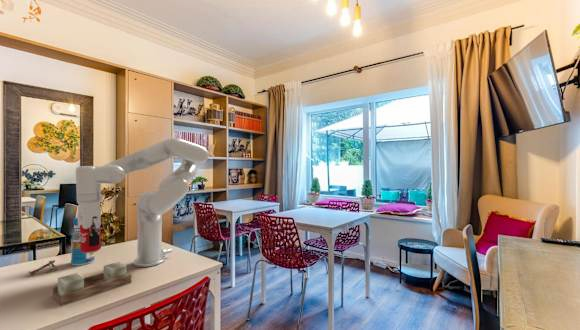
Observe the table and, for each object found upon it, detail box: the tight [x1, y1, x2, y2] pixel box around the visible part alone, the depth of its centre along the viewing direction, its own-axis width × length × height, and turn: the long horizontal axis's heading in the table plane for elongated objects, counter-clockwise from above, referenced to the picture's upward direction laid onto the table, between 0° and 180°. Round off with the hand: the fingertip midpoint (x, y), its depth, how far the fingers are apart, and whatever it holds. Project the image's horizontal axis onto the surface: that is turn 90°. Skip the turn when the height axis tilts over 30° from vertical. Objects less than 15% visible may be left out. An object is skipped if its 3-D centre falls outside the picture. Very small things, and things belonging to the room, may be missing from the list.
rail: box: [52, 261, 132, 306], centre depth 92 cm, size 20×10×6 cm, turn 145°
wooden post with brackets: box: [28, 259, 58, 277], centre depth 104 cm, size 2×8×4 cm, turn 134°
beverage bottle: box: [70, 216, 96, 267], centre depth 115 cm, size 8×8×20 cm
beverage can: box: [80, 225, 102, 253], centre depth 101 cm, size 6×6×12 cm
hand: (90, 243), depth 101 cm, fingers closed on beverage can, 6 cm apart
